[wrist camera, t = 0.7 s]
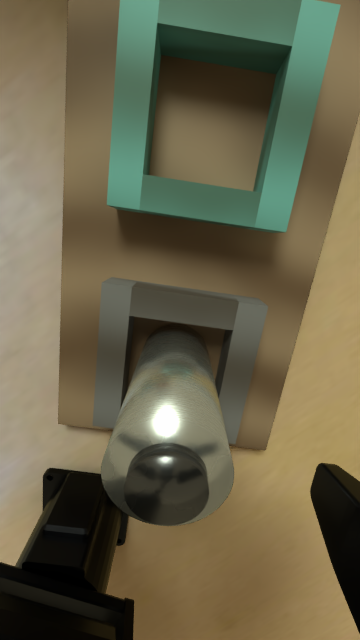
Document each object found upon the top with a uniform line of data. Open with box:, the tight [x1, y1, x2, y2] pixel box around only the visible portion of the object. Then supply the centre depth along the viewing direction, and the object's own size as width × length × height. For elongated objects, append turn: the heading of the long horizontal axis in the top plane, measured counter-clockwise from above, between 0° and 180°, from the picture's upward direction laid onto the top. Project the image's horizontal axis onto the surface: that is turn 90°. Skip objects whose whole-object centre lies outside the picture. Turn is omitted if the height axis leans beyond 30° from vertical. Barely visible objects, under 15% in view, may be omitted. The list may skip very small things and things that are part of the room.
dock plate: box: [58, 0, 360, 450], centre depth 15 cm, size 24×14×3 cm, turn 172°
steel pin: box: [101, 324, 234, 526], centre depth 12 cm, size 4×4×10 cm
